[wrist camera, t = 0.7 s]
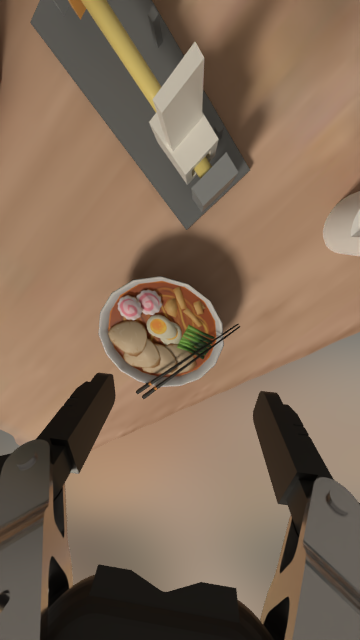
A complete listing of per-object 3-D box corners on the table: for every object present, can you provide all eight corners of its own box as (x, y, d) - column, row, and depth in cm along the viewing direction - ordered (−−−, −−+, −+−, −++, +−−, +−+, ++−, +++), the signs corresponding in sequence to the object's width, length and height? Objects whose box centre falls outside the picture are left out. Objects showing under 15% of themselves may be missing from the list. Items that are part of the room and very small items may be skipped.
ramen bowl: (172, 236, 32) (165, 237, 25) (245, 325, 38) (257, 347, 31) (91, 318, 41) (67, 337, 33) (161, 380, 47) (155, 408, 39)
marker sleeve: (214, 156, 23) (229, 92, 13) (187, 185, 25) (180, 148, 14) (185, 108, 22) (173, -10, 11) (157, 142, 23) (125, 66, 13)
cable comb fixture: (247, 172, 27) (268, 147, 20) (186, 230, 32) (183, 228, 24) (94, -91, 19) (23, -314, 11) (38, 32, 23) (-43, -71, 15)
